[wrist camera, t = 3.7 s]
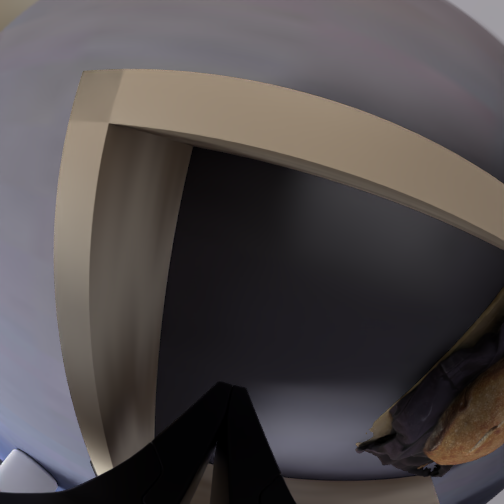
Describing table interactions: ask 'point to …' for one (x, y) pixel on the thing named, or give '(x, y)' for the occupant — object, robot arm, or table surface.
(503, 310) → the bread roll
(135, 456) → the robot arm
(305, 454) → the table surface
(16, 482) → the can
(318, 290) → the table surface
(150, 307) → the frame
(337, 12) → the table surface
